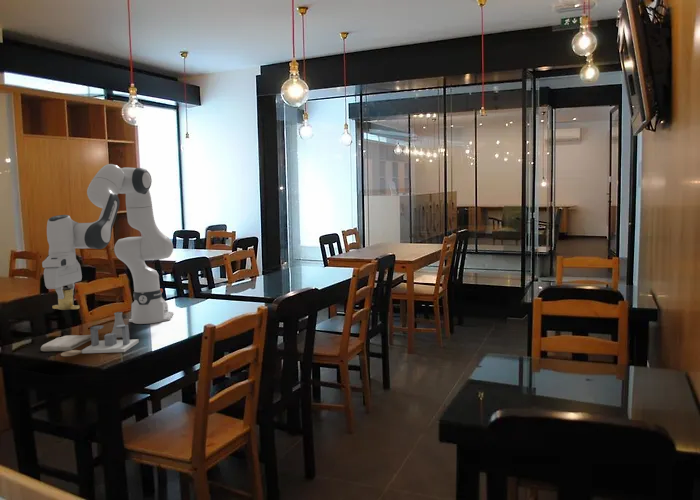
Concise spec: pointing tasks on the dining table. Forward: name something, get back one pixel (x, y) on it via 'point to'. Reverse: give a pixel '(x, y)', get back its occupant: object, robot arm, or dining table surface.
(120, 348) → the white peg board
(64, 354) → the cork coaster
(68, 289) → the bayonet cap
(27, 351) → the dining table surface
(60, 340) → the washcloth
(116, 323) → the flask
